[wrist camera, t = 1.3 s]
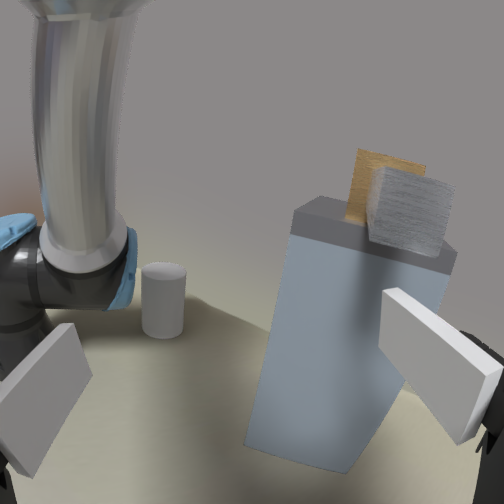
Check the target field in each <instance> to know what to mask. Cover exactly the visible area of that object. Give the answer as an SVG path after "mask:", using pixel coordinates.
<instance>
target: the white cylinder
mask: <svg viewBox="0 0 504 504" xmlns="http://www.w3.org/2000/svg"><path fill="white" fill-rule="evenodd" d="M185 285H186V270H185V268H183V267H182V266H180V265H177V264H174V263H168V262H154V263H149V264H147V265H145V266H143V268H142V272H141V303H142V329H143V331H144V332H145V333H146V334H147V335H149V336H151V337H154V338H158V339H170V338H174V337H176V336H178V335H180V334H181V333H182V331H183V319H184V301H185Z"/></svg>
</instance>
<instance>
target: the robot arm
mask: <svg viewBox="0 0 504 504" xmlns="http://www.w3.org/2000/svg"><path fill="white" fill-rule="evenodd" d="M153 1H155V0H18V2H19V3H20V4H22V5H23V6H24V7H25V8H26V9H27V10H28V11H29V12H30V13H31V14H32V16H33V18H34V24H33V33H32V47H31V67H30V69H31V70H30V99H31V120H32V134H33V144H34V154H35V161H36V168H37V176H38V182H39V188H40V194H41V199H42V205H43V209H44V214H45V219H46V220H45V222H44V223H43V226H37V220H36V218H35V216H34V215H33V214H28V213H20V214H13V215H8V216H4V217H0V381H2V382H1V384H0V504H17V501H16V497H15V493H14V489H13V485H12V480H11V476H10V473H9V471H8V470H7V469H6V465H7V463H8V462H9V463H10V465H11V466H12V467H13V468H14V469H15V471H16V472H17V473H18V474H21V475H24V476H26V477H29V478H32V479H33V478H34V476H35V474H36V472H37V470H38V468H39V466H40V464H41V462H42V461H43V459H44V457H45V455H46V453H47V451H48V450H49V448H50V446H51V444H52V443H53V441H54V439H55V437H56V435H57V434H58V432H59V430H60V428H61V427H62V425H63V423H64V422H65V420H66V418H67V417H68V415H69V413H70V411H71V410H72V408H73V406H74V405H75V403H76V402H77V400H78V398H79V397H80V395H81V393H82V392H83V390H84V388H85V387H86V385H87V384H88V382H89V380H90V379H91V377H92V376H93V375H92V372H91V370H90V367H89V365H88V362H87V360H86V357H85V354H84V351H83V349H82V346H81V343H80V340H79V337H78V334H77V331H76V328H75V325H74V323H60V324H59V325H58V326H57V327H56V328H54V326H53V324H52V323H51V321H50V319H49V317H48V315H47V313H46V311H45V309H76V310H102V311H109V310H115V309H124V308H126V307H127V306H128V305H129V304H130V302H131V300H132V297H133V292H134V287H135V274H136V268H137V234H136V231H135V230H134V229H133V228H129V227H127V226H126V223H125V221H124V219H123V217H122V215H121V214H120V213H119V212H118V211H117V210H116V209H115V198H116V197H115V196H116V195H115V194H116V170H117V153H118V140H119V129H120V119H121V111H122V103H123V95H124V87H125V81H126V75H127V69H128V63H129V58H130V52H131V47H132V42H133V37H134V33H135V28H136V23H137V20H138V15H139V13H140V12H141V10H142V9H143V8H144V7H146V6H147V5H149V4H150V3H152V2H153ZM378 347H379V348H380V349H381V351H382V352H383V353H384V354H385V356H386V357H387V358H388V359H389V360H390V362H391V363H392V364H393V365H394V366H395V368H396V369H397V370H398V371H399V373H400V374H401V375H402V376H403V378H404V379H405V380H406V381H407V382H408V384H409V385H410V386H411V387H412V389H413V390H414V391H415V392H416V394H417V395H418V396H419V398H420V399H421V400H422V401H423V403H424V404H425V405H426V406H427V408H428V409H429V410H430V411H431V413H432V414H433V415H434V417H435V418H436V419H437V420H438V422H439V423H440V424H441V426H442V427H443V428H444V429H445V431H446V432H447V433H448V435H449V436H450V437H451V439H452V440H453V441H454V443H455V444H456V445H457V446H458V445H460V444H462V443H464V442H466V441H468V440H470V439H471V438H473V437H475V436H476V434H477V431H478V429H479V427H480V425H481V423H482V424H483V425H484V426H485V427H486V428H487V429H486V431H485V433H484V435H483V437H482V439H481V441H480V443H479V445H478V447H477V449H476V453H478V452H479V450H480V448H481V447H482V454H481V461H480V468H479V474H478V479H477V485H476V490H475V494H474V499H473V503H472V504H504V358H503V357H501V356H500V355H499V354H497V353H496V352H495V351H493V350H492V349H489V347H488V346H487V345H486V344H484V343H482V342H481V341H480V340H479V339H477V338H476V337H474V336H473V335H471V334H468V333H466V332H464V331H457V330H456V329H455V328H453V327H452V326H450V325H449V324H448V323H447V322H445V321H444V320H443V319H441V318H440V317H439V316H437V315H436V314H434V313H433V312H432V311H430V310H429V309H428V308H426V307H425V306H423V305H422V304H421V303H419V302H418V301H416V300H415V299H414V298H412V297H411V296H409V295H408V294H407V293H405V292H404V291H402V290H401V289H399V288H398V287H396V288H391V289H385V290H382V305H381V321H380V333H379V344H378Z"/></svg>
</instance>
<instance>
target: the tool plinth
mask: <svg viewBox="0 0 504 504" xmlns="http://www.w3.org/2000/svg"><path fill="white" fill-rule="evenodd" d="M347 204H348V202H346V201H341V200H337V199H333V198H329V197H324V196H319V197H317V198H315V199H314V200H312V201H310V202H308V203H307V204H305V205H303V206H301V207H299V208H298V209H296V210H294V216H293V221H292V226H291V232H290V237H289V243H288V248H287V253H286V258H285V263H284V268H283V273H282V278H281V283H280V288H279V293H278V298H277V302H276V308H275V313H274V317H273V322H272V326H271V331H270V335H269V340H268V345H267V349H266V354H265V358H264V362H263V367H262V371H261V376H260V380H259V384H258V389H257V393H256V397H255V401H254V405H253V410H252V414H251V418H250V422H249V426H248V430H247V434H246V438H245V442H244V445H245V446H248V447H251V448H253V449H256V450H259V451H262V452H265V453H268V454H271V455H274V456H278V457H281V458H284V459H287V460H291V461H294V462H298V463H302V464H305V465H309V466H313V467H317V468H321V469H325V470H330V471H334V472H339V473H343V474H346V473H347V472H348V471H349V469H350V468H351V467H352V465H353V464H354V463H355V461H356V460H357V458H358V457H359V456H360V454H361V453H362V451H363V450H364V448H365V447H366V445H367V444H368V443H369V441H370V440H371V438H372V436H373V435H374V433H375V432H376V430H377V429H378V427H379V426H380V424H381V422H382V421H383V419H384V418H385V416H386V414H387V413H388V411H389V409H390V407H391V406H392V404H393V402H394V401H395V399H396V397H397V395H398V393H399V392H400V390H401V388H402V386H403V384H404V382H405V381H406V380H405V379H404V378H403V376H402V375H401V374H400V373H399V371H398V370H397V369H396V368H395V366H394V365H393V364H392V363H391V362H390V360H389V359H388V358H387V357H386V356H385V354H384V353H383V352H382V351H381V349H380V348H379V347H378V344H379V333H380V321H381V305H382V290H385V289H391V288H396V287H398V288H399V289H401V290H402V291H404V292H405V293H407V294H408V295H409V296H411V297H412V298H414V299H415V300H416V301H418V302H419V303H421V304H422V305H423V306H425V307H426V308H428V309H429V310H430V311H432V312H433V313H434V314H436V313H437V311H438V308H439V306H440V303H441V300H442V297H443V295H444V292H445V289H446V287H447V284H448V281H449V278H450V275H451V272H452V269H453V266H454V263H455V260H456V256H457V252H456V251H455V250H454V249H453V248H452V247H451V246H450V245H449V244H448V243H447V242H446V241H444V240H443V242H442V245H441V249H440V252H439V256H438V259H435V258H431V257H428V256H424V255H420V254H417V253H413V252H410V251H406V250H402V249H398V248H395V247H391V246H387V245H383V244H380V243H376V242H372V241H369V231H368V224H367V223H363V222H359V221H355V220H351V219H347V218H345V214H346V209H347Z"/></svg>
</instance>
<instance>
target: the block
mask: <svg viewBox="0 0 504 504" xmlns="http://www.w3.org/2000/svg"><path fill="white" fill-rule="evenodd" d="M425 168H426V166H424V165H421V164H417V163H414V162H410V161H407V160H403V159H399V158H395V157H392V156H387V155H383V154H380V153H375V152H371V151H367V150H362V149H358V151H357V156H356V162H355V168H354V173H353V178H352V184H351V189H350V194H349V199H348V204H347V209H346V214H345V218H347V219H351V220H355V221H359V222H363V223H367V224H368V231H369V241H372V242H376V243H380V244H383V245H387V246H391V247H395V248H398V249H402V250H406V251H410V252H413V253H417V254H420V255H424V256H428V257H431V258H435V259H438V256H439V252H440V249H441V245H442V242H443V238H444V234H445V231H446V227H447V223H448V218H449V214H450V210H451V206H452V201H453V197H454V192H455V186H453V185H450V184H447V183H443V182H440V181H437V180H434V179H431V178H427V177H424V173H425Z"/></svg>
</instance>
